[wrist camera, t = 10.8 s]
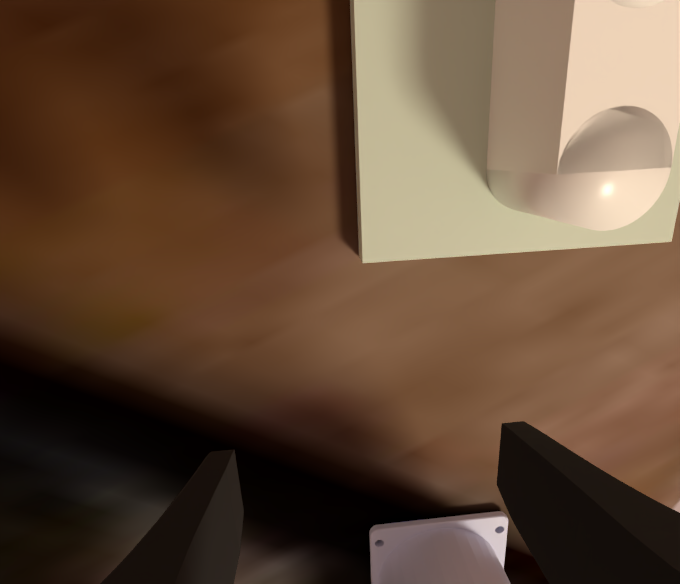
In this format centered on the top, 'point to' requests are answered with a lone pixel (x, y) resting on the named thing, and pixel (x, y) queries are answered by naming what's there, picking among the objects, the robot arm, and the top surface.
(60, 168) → the top surface
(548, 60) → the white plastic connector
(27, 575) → the top surface
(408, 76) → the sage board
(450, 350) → the top surface
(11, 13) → the top surface
